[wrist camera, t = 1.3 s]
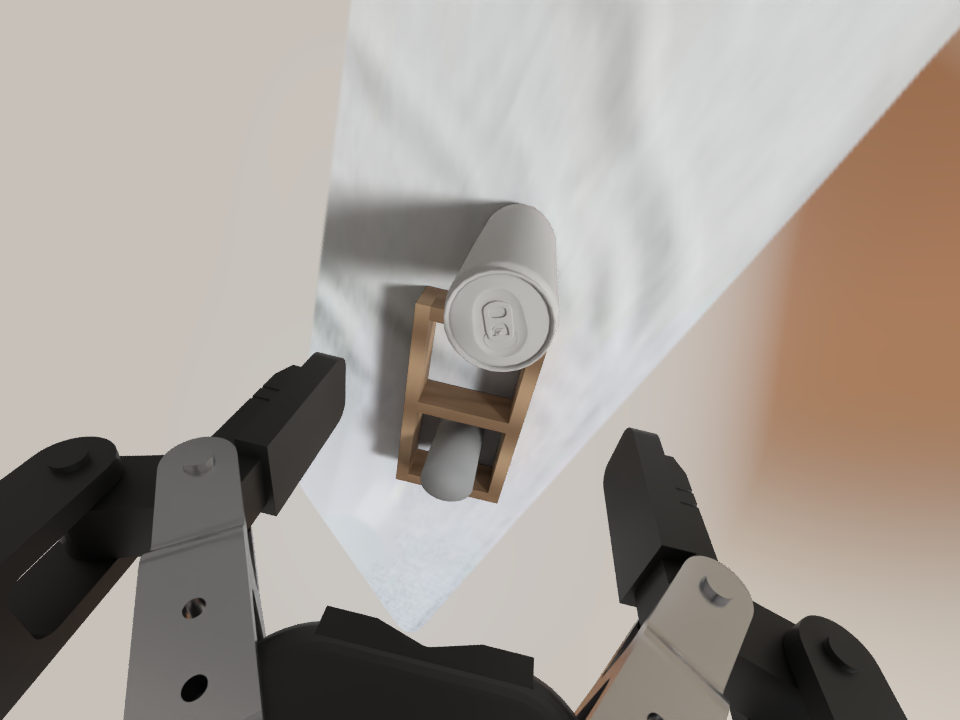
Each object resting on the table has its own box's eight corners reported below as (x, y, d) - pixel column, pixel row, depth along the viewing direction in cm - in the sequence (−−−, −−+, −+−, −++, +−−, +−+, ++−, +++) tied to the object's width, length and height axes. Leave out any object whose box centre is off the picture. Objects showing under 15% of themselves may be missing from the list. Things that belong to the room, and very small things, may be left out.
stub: (441, 406, 35) (423, 458, 30) (487, 417, 35) (477, 471, 30) (435, 440, 37) (417, 494, 32) (479, 451, 37) (468, 506, 32)
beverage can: (486, 279, 28) (451, 377, 18) (475, 206, 26) (428, 272, 16) (557, 273, 27) (562, 372, 17) (553, 197, 25) (556, 260, 15)
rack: (427, 285, 29) (415, 303, 27) (551, 315, 29) (551, 335, 26) (406, 454, 38) (395, 478, 36) (500, 477, 38) (497, 503, 36)
